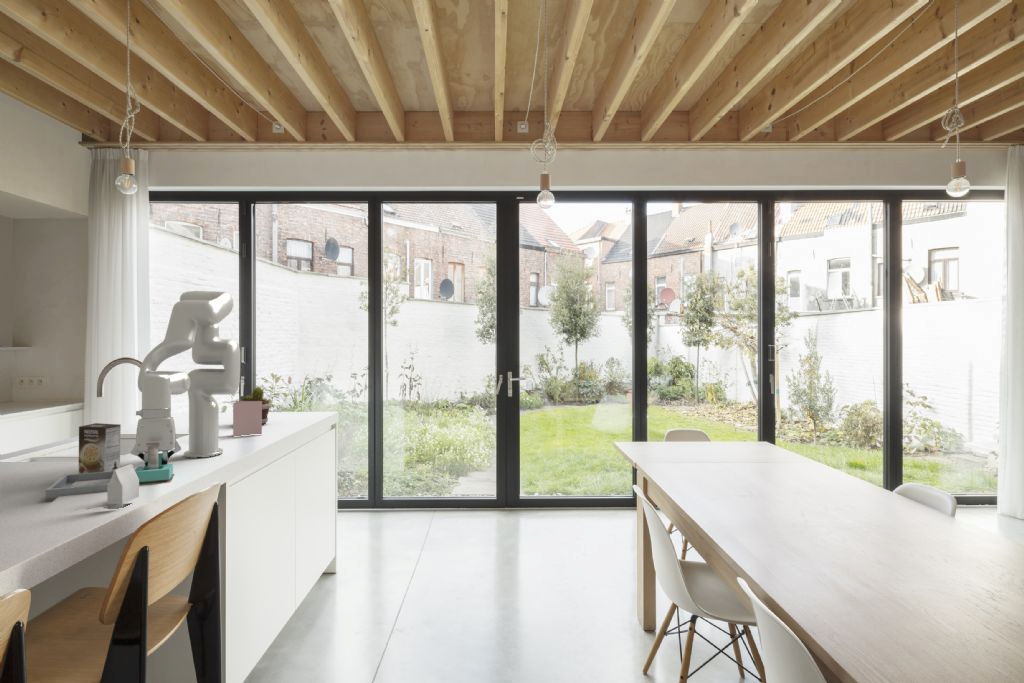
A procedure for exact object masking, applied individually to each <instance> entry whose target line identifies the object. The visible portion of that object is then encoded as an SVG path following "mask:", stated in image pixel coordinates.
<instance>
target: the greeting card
mask: <svg viewBox="0 0 1024 683" xmlns="http://www.w3.org/2000/svg"><path fill="white" fill-rule="evenodd" d="M232 404H233V405H232V408H233V410H232V413H233V414H232V437H233V436H241V435H250V434H262V435H263V425H262V401H241V400H235V402H233V403H232Z"/></svg>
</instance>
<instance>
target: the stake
mask: <svg viewBox="0 0 1024 683" xmlns="http://www.w3.org/2000/svg"><path fill="white" fill-rule="evenodd" d="M158 446H160V441H159V442H147V443H146V447H148V470H152V469H158V453H159V452H158ZM174 477H175V474H174V473H173V474H172V476H171V477H170V479H169V480H158V481H147V482H139V486H144V485H145V486H146V485H157V484H168V483H172V481H173V478H174Z"/></svg>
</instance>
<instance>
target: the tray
mask: <svg viewBox="0 0 1024 683" xmlns="http://www.w3.org/2000/svg"><path fill="white" fill-rule="evenodd" d="M113 472H114V471H106V472H94V473H82V474H79V473H72V474H64V475H62V476H61V477H59V478H58V479H57V480H56V481H55V482H54V483H52V484H51V485H50V486H48V488H46V489H45V493H44V494H45V495H44V498H45V502H50V501H49V500H54V501H56V500H57V499H58V498H59V497H61V496H71V495H72V496H73V495H82V494H92V493H93V494H94V493H101V492H103V493H104V492H107V486H108V484H109V482H110V480H111V478H112V475H113ZM102 479H109V480H108V481H107V482H106V483H102V484H101V483H99V484H90V485H89V484H88V485H77V486H73V484H74V483H76V482H77V481H88V480H89V481H91V480H102Z"/></svg>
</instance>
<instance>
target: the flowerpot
mask: <svg viewBox="0 0 1024 683" xmlns="http://www.w3.org/2000/svg"><path fill="white" fill-rule="evenodd" d="M251 390H252V391H251V393H249V394H248V393H247V395H245V396H244V397H243V399H242V400H240V401H262V426H265V425H267V422H268V421H269V418H268V414H269V411H270V409H271V408H272V404H271V402H270V400H267V399H264V397H265V396H264V395H265V391H264V389H263V388H262V386H261V385H260V384H258V385H256V387H255V388H254V387H253V389H251ZM264 424H265V425H264Z"/></svg>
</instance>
